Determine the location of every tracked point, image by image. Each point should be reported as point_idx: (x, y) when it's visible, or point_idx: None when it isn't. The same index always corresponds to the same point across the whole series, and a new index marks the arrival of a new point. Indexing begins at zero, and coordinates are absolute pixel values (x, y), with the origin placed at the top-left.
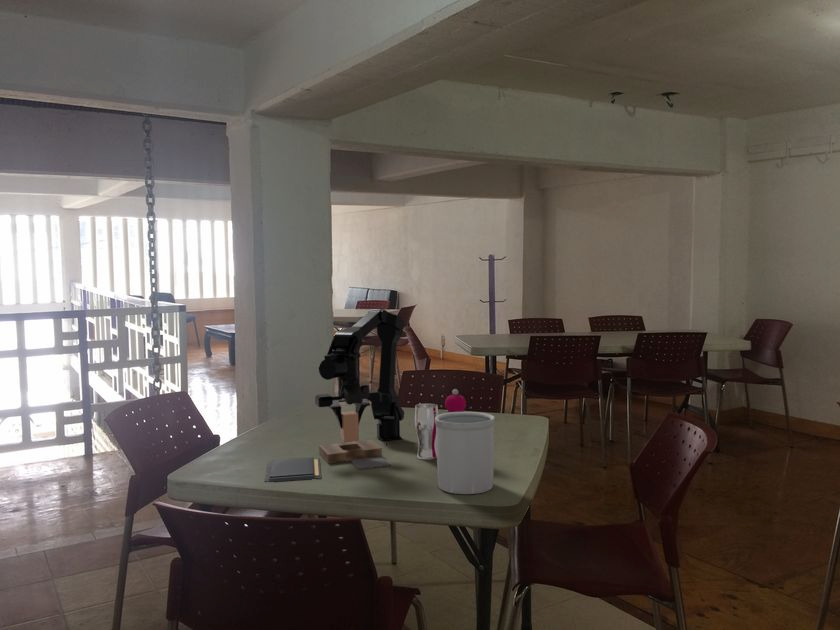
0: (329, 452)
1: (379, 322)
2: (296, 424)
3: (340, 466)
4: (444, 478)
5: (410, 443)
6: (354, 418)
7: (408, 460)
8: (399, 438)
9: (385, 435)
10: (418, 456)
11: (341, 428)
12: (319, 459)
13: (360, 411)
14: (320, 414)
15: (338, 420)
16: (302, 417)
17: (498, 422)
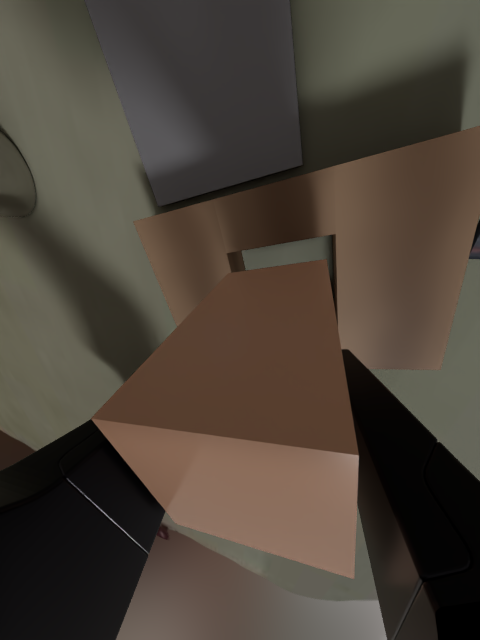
0: (453, 190)
1: None
2: (369, 566)
3: (399, 19)
4: None
5: (104, 350)
6: (179, 370)
7: (44, 125)
8: None
9: None
10: (8, 148)
11: (343, 349)
12: (476, 239)
13: (63, 456)
14: (301, 570)
15: (404, 419)
16: (340, 579)
17: (3, 409)
